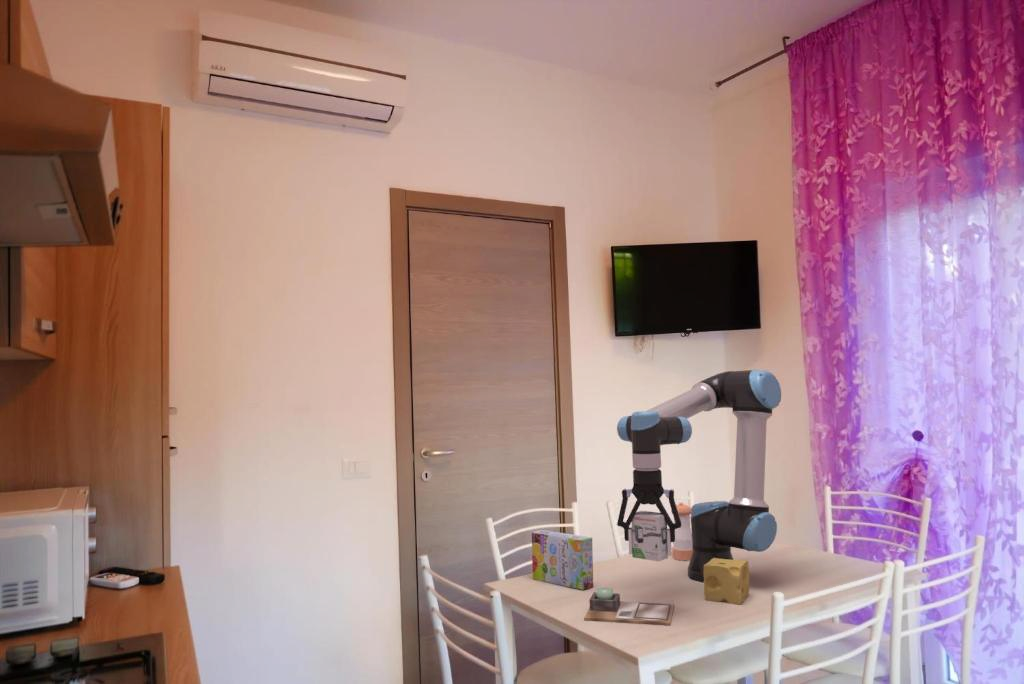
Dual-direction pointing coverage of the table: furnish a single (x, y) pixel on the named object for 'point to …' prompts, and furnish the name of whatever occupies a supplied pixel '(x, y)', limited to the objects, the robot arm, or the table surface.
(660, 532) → the ink box
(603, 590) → the button
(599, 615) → the wooden tray
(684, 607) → the table surface
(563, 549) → the snack box
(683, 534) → the salt shaker
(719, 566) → the cheese
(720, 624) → the table surface
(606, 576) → the table surface
